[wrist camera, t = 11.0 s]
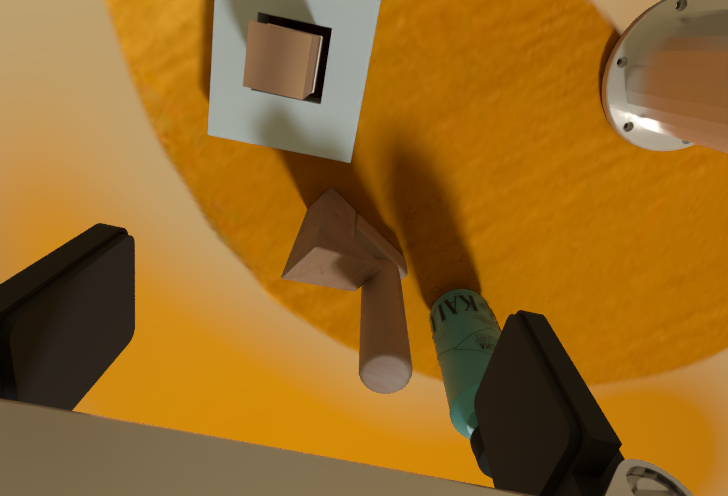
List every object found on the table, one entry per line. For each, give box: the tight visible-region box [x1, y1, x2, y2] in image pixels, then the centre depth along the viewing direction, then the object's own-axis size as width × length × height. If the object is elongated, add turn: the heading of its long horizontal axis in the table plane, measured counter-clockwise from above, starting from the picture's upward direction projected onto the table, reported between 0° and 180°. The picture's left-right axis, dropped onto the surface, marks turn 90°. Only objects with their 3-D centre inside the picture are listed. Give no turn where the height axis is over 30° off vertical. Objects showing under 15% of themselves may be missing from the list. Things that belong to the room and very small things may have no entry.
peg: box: [243, 20, 324, 100], centre depth 33 cm, size 4×4×10 cm
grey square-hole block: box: [208, 0, 381, 163], centre depth 36 cm, size 12×14×4 cm
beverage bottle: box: [429, 289, 501, 478], centre depth 39 cm, size 6×7×20 cm
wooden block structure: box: [281, 188, 412, 394], centre depth 36 cm, size 4×11×18 cm, turn 44°
